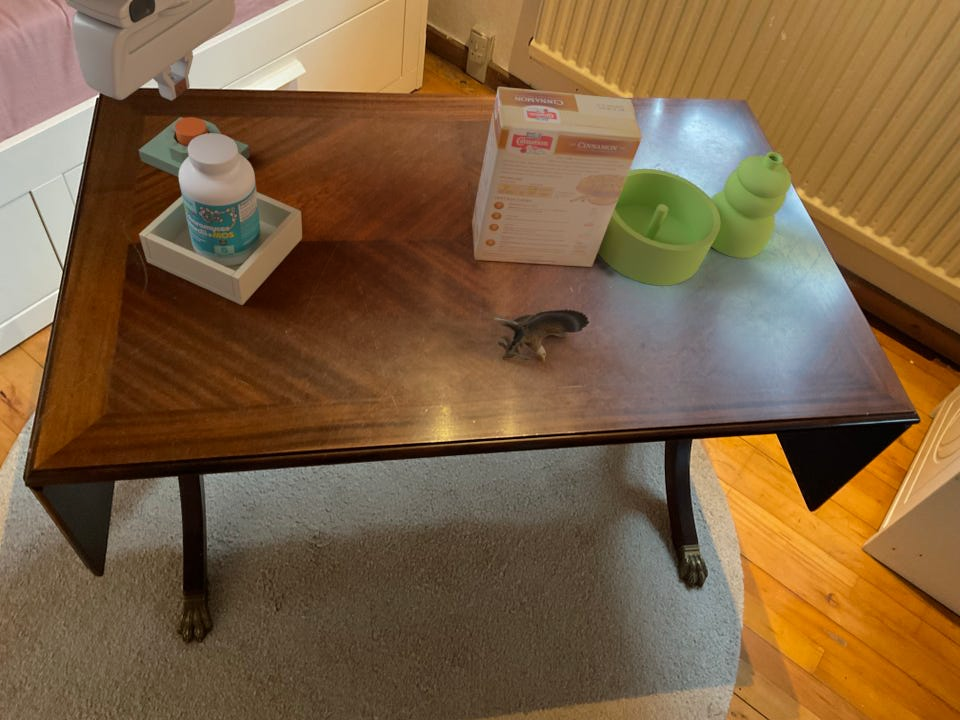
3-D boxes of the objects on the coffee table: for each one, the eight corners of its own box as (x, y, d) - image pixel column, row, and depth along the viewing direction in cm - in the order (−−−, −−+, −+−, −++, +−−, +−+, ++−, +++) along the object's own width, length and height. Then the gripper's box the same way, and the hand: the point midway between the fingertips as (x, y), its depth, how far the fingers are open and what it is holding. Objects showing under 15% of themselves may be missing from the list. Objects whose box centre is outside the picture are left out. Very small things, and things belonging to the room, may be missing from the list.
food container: (619, 292, 90) (655, 214, 80) (575, 210, 97) (602, 130, 88) (787, 267, 97) (839, 194, 87) (734, 193, 105) (775, 118, 95)
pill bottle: (178, 253, 82) (155, 154, 71) (217, 213, 86) (201, 114, 75) (238, 278, 81) (223, 182, 70) (275, 237, 85) (266, 140, 75)
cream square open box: (146, 262, 81) (138, 234, 78) (213, 199, 88) (208, 171, 85) (242, 305, 80) (238, 278, 76) (302, 238, 87) (301, 210, 84)
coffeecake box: (584, 228, 96) (632, 97, 80) (593, 269, 91) (645, 138, 76) (470, 220, 93) (496, 83, 78) (473, 261, 89) (502, 124, 74)
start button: (170, 140, 89) (168, 128, 87) (189, 125, 91) (187, 113, 90) (196, 151, 88) (194, 139, 87) (214, 136, 91) (212, 124, 89)
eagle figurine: (540, 389, 78) (599, 340, 81) (518, 336, 74) (580, 286, 77) (497, 368, 84) (553, 323, 87) (474, 318, 80) (534, 273, 83)
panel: (141, 161, 90) (135, 137, 88) (182, 127, 95) (178, 104, 92) (211, 192, 89) (207, 169, 86) (250, 156, 94) (247, 133, 91)
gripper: (191, -81, 78) (207, 42, 89) (47, -5, 65) (86, 127, 76) (243, -61, 77) (253, 60, 88) (108, 20, 65) (139, 150, 76)
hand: (175, 92), depth 82 cm, fingers closed
